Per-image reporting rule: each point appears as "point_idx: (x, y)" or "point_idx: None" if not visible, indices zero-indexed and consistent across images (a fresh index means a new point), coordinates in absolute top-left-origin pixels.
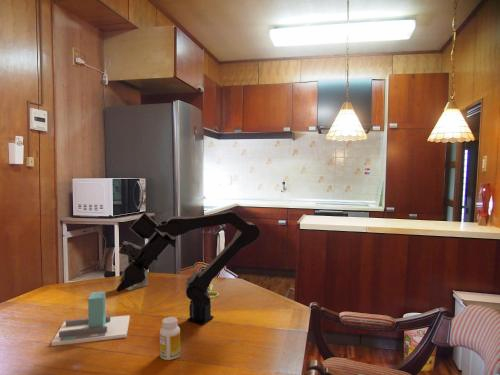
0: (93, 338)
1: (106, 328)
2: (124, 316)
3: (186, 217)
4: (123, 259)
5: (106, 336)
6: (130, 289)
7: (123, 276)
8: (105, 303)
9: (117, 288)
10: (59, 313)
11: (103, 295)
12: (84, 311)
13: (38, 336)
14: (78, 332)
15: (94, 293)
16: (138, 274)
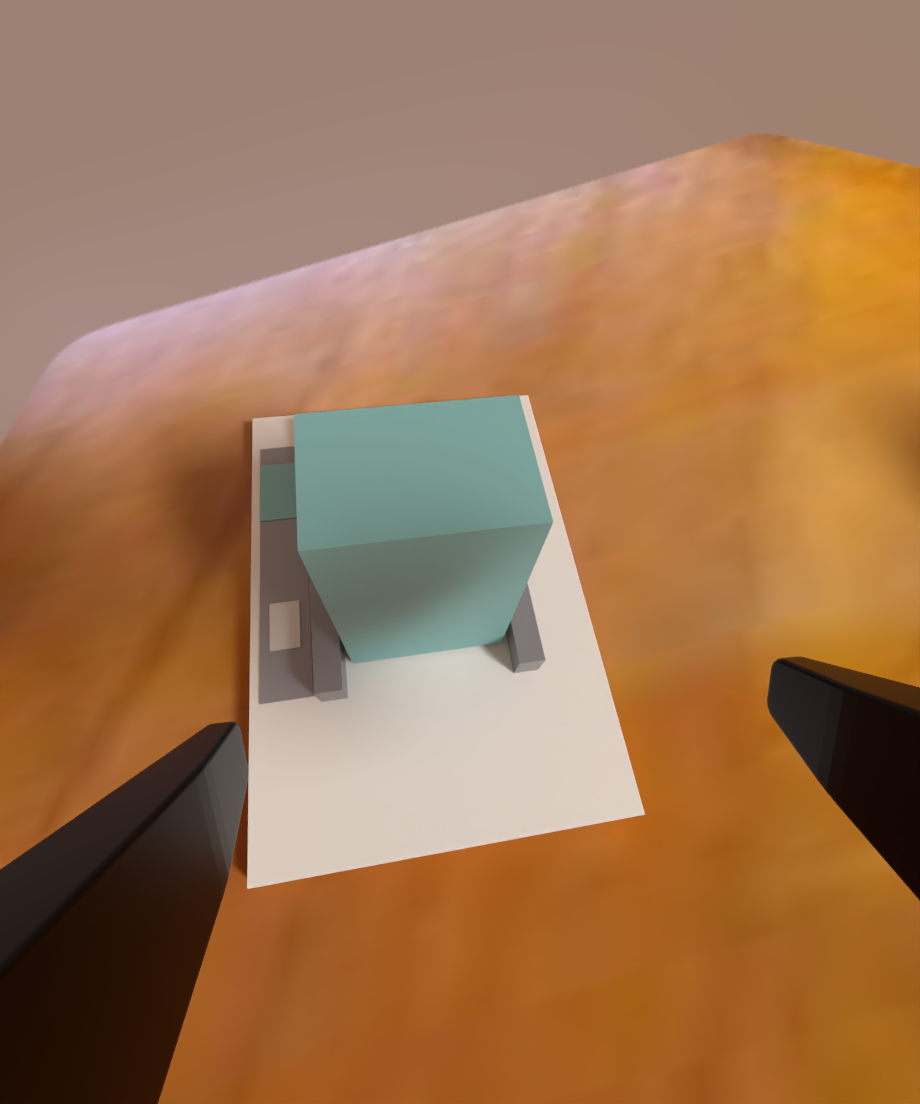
0: (252, 632)
1: (317, 693)
2: (615, 768)
3: None
4: None
5: (249, 720)
6: None
7: (853, 701)
8: (520, 586)
9: (183, 750)
10: (678, 342)
11: (388, 540)
12: (723, 451)
13: (390, 344)
14: None
15: (475, 428)
16: None
